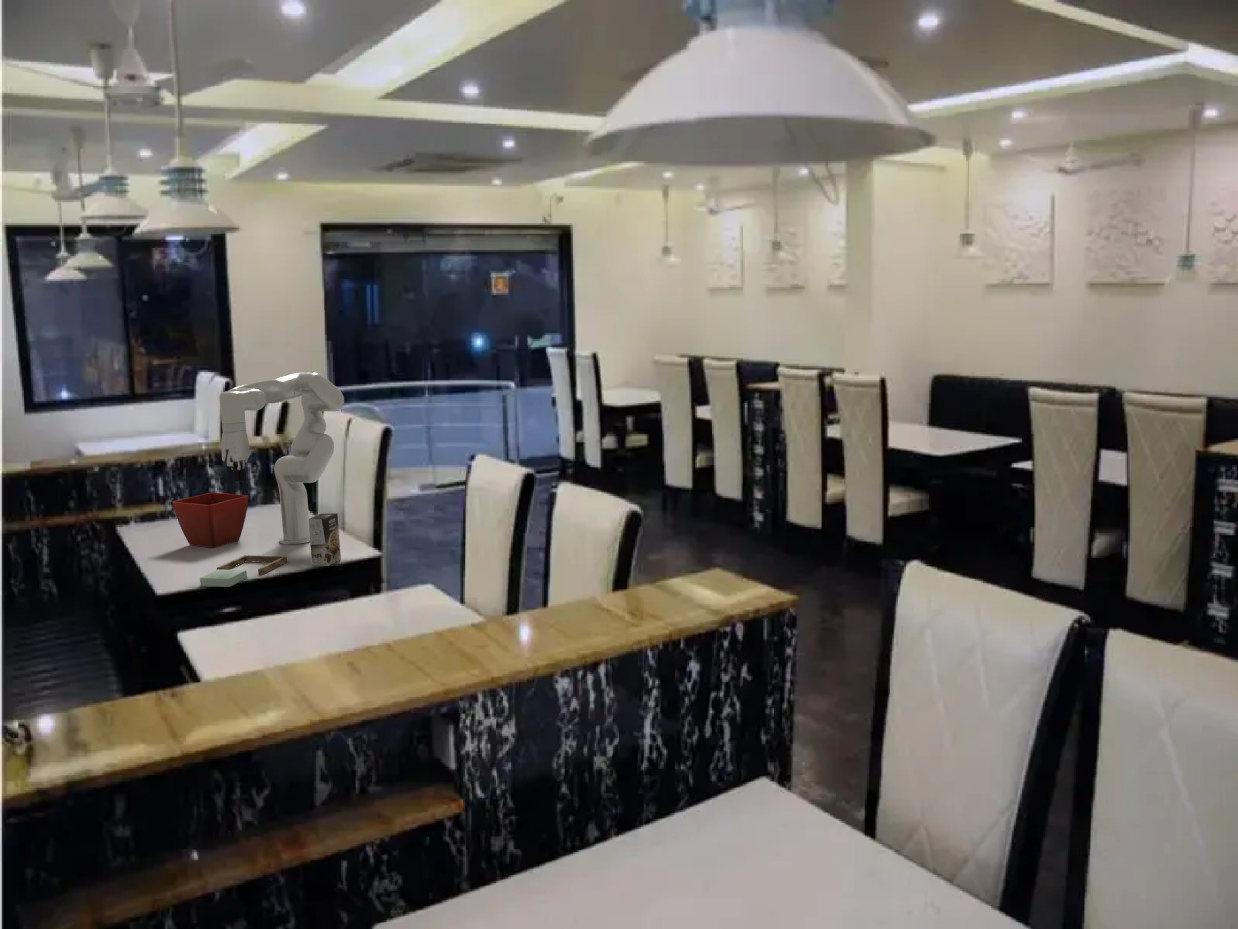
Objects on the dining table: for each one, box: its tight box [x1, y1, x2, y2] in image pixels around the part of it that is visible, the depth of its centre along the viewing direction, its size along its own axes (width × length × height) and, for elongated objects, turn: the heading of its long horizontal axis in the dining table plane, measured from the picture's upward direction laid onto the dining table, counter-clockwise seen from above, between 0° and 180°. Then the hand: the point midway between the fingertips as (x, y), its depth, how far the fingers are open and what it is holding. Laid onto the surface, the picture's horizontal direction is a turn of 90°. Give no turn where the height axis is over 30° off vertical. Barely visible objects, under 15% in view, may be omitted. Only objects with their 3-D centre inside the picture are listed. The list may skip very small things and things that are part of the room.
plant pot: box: [171, 492, 249, 548], centre depth 369 cm, size 19×19×17 cm
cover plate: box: [199, 569, 248, 588], centre depth 317 cm, size 10×10×3 cm
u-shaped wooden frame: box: [216, 554, 288, 576], centre depth 333 cm, size 16×16×2 cm
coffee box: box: [309, 512, 342, 567], centre depth 336 cm, size 9×6×16 cm
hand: (239, 480), depth 343 cm, fingers closed
